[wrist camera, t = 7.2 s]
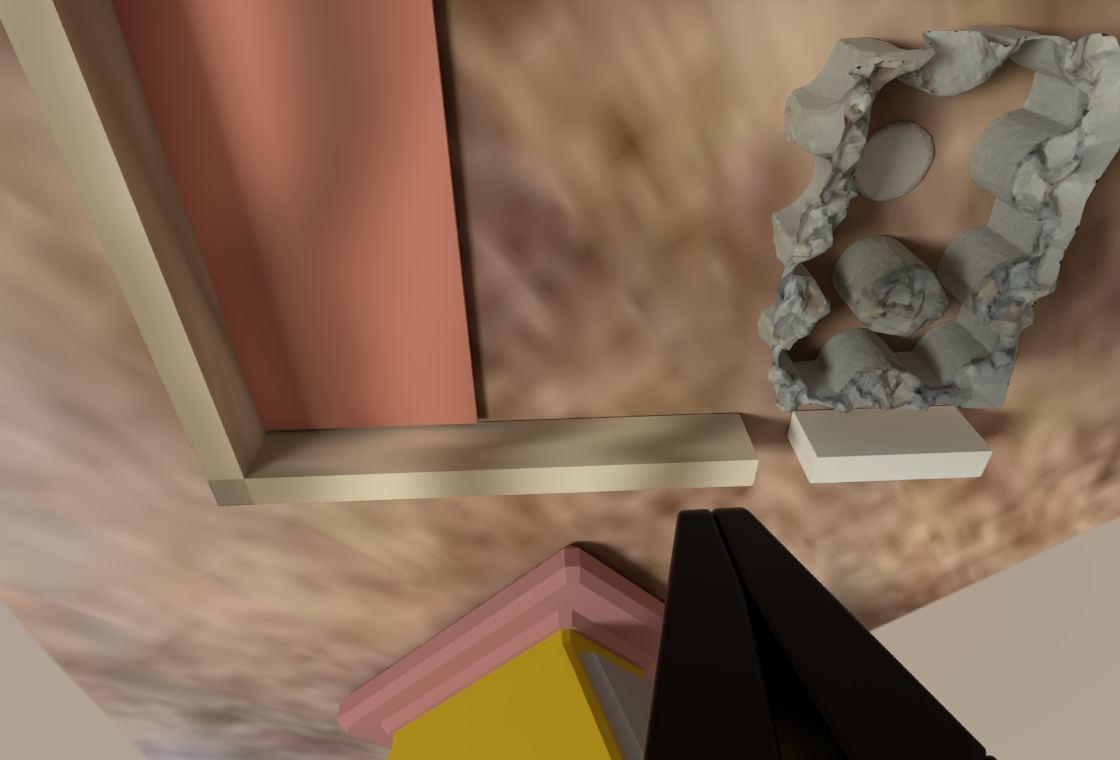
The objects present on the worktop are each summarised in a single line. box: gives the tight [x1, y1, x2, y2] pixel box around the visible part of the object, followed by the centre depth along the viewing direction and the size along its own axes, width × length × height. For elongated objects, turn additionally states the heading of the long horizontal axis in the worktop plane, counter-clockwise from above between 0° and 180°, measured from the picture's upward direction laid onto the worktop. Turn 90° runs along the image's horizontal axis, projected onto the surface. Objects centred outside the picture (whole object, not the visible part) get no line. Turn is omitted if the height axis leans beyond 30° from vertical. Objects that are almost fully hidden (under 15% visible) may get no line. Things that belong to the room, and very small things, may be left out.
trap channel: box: [0, 0, 759, 506], centre depth 18 cm, size 18×17×2 cm
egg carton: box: [758, 26, 1120, 413], centre depth 19 cm, size 11×8×4 cm
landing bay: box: [787, 406, 993, 483], centre depth 19 cm, size 6×17×2 cm, turn 1°
